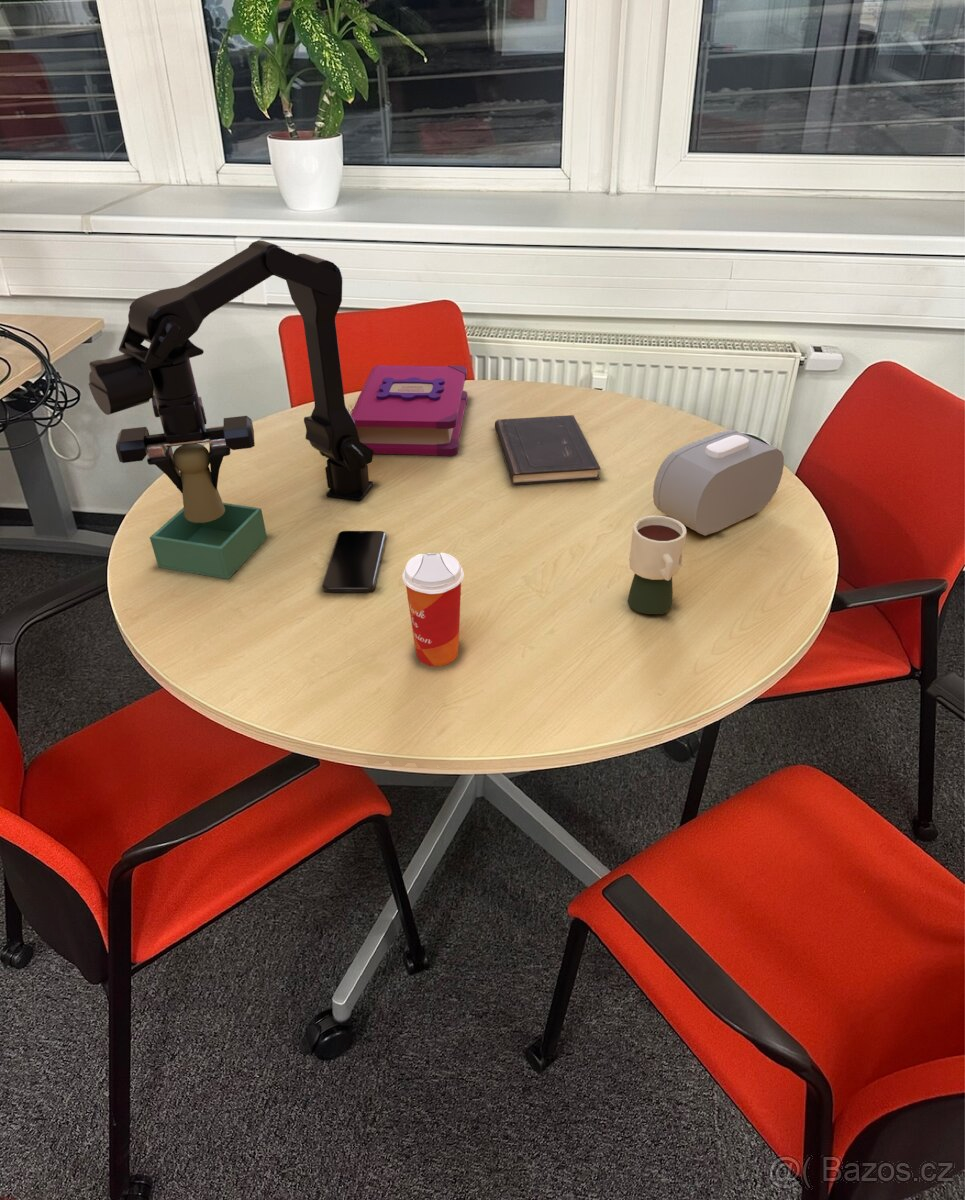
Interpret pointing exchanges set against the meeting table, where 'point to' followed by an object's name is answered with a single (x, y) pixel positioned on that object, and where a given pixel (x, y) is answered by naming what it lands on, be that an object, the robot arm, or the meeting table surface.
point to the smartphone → (355, 561)
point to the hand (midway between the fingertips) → (199, 490)
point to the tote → (210, 542)
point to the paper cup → (434, 606)
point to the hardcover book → (546, 450)
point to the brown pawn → (197, 484)
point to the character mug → (655, 562)
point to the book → (412, 409)
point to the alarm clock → (717, 481)
